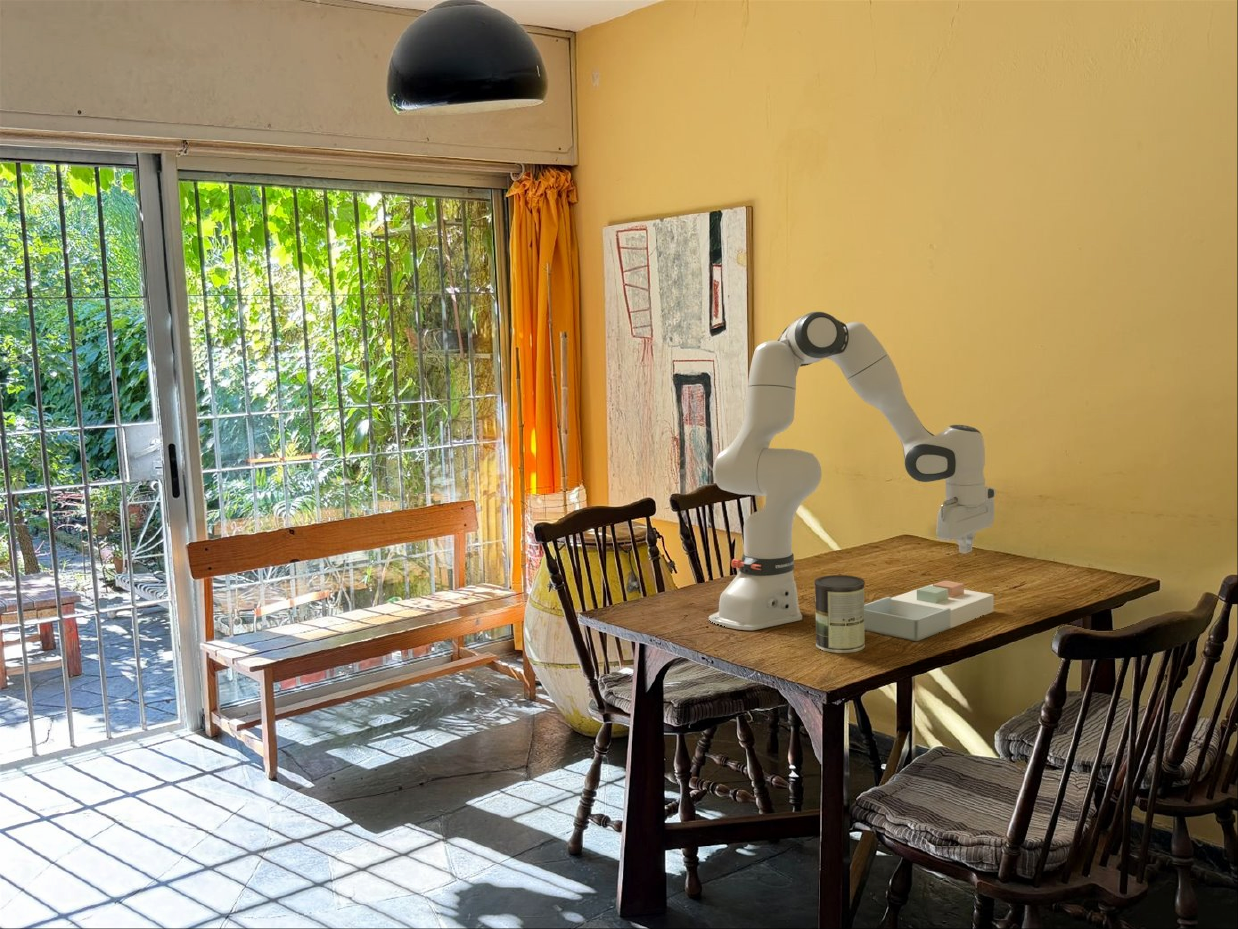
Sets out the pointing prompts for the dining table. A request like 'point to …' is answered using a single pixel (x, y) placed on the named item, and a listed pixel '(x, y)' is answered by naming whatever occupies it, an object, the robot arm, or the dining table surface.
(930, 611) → the white shallow box
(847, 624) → the coffee can
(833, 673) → the dining table surface
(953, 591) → the tile terracotta
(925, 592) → the tile sage
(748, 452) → the robot arm
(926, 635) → the box
